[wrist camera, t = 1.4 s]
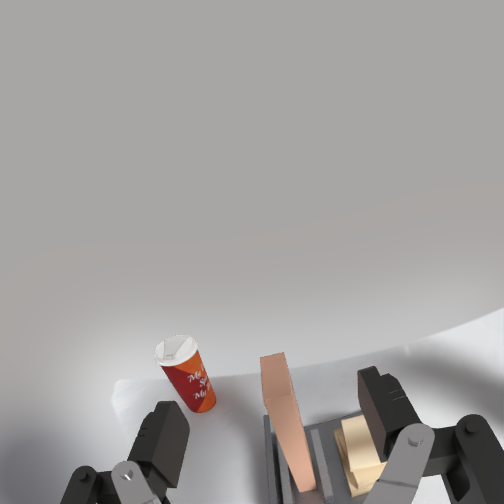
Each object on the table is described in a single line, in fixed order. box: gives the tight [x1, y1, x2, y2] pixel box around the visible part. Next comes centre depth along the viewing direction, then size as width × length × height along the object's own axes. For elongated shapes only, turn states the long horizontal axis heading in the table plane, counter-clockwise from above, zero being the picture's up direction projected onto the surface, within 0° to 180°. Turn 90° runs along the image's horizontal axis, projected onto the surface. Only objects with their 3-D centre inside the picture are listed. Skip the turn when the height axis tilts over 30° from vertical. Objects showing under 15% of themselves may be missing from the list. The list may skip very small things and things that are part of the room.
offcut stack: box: [333, 415, 387, 497], centre depth 27 cm, size 11×6×5 cm, turn 2°
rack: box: [264, 411, 369, 504], centre depth 27 cm, size 17×16×6 cm
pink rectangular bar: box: [260, 352, 317, 492], centre depth 25 cm, size 6×2×20 cm, turn 2°
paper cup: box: [155, 335, 216, 413], centre depth 46 cm, size 8×8×14 cm
